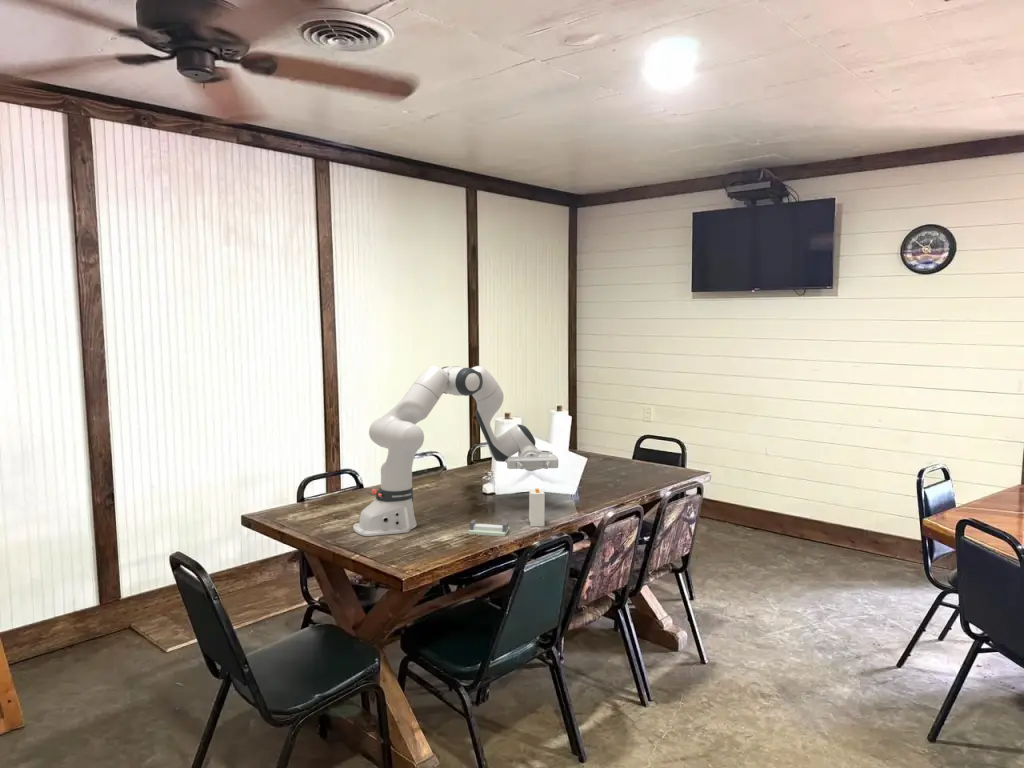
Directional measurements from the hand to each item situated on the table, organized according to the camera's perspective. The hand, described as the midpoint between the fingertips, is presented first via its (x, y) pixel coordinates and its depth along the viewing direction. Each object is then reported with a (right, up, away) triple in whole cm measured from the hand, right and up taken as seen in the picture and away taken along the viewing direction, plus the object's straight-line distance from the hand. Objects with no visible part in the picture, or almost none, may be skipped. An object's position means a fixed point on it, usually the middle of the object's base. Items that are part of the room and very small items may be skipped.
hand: (534, 466), depth 266 cm
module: (+1, -20, -10) cm, 22 cm away
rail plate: (-17, -21, -21) cm, 33 cm away
